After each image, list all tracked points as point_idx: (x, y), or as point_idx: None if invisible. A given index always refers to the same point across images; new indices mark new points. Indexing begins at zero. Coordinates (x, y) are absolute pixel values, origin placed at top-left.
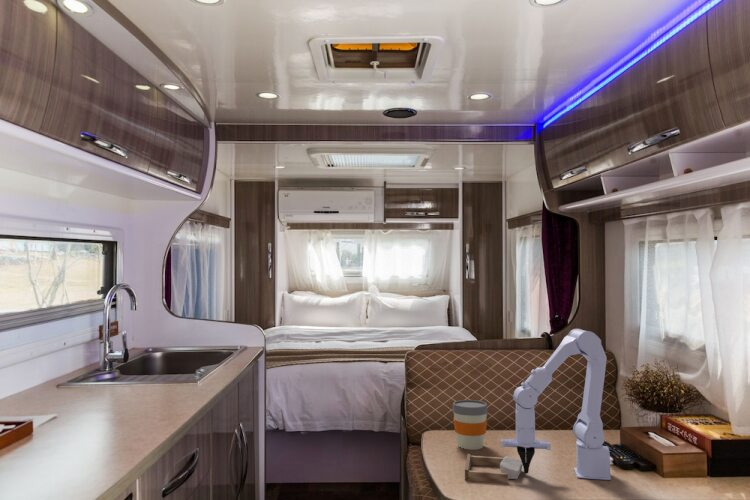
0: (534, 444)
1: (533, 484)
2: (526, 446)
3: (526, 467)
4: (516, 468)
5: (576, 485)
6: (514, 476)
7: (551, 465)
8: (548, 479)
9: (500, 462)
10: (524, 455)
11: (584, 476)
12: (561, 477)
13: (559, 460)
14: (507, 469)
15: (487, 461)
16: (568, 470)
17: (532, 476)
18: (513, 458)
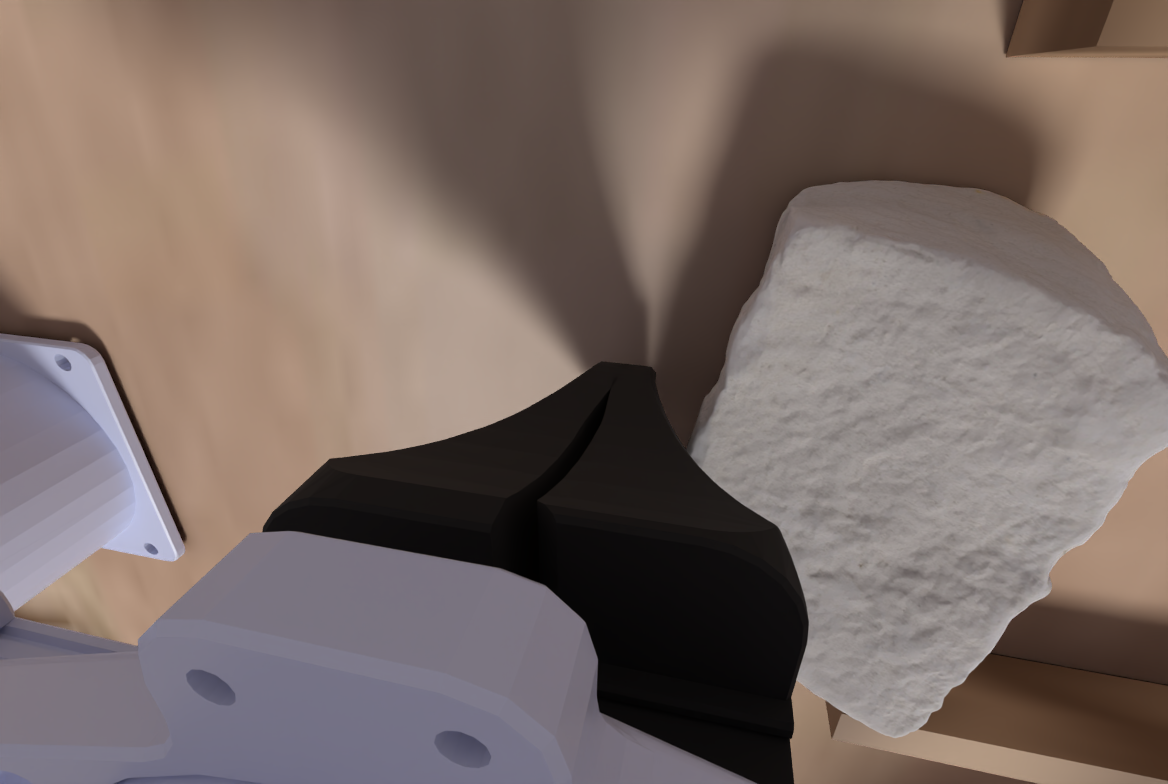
0: (27, 741)
1: (554, 20)
2: (344, 593)
3: (607, 384)
4: (795, 346)
5: (46, 114)
6: (850, 197)
7: None
8: (366, 278)
9: None
10: (596, 482)
11: (30, 354)
12: (247, 358)
13: None
14: (1018, 270)
15: (1117, 723)
16: (229, 532)
17: (553, 359)
18: None
